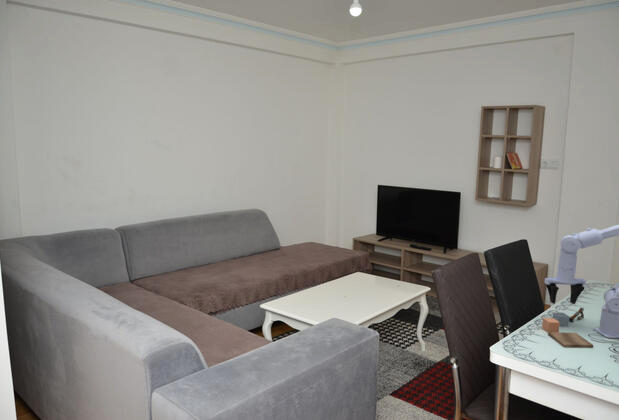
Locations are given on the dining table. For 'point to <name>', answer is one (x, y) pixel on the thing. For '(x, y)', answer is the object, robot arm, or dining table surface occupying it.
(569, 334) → the walnut base plate
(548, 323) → the terracotta cube
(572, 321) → the wooden post with brackets
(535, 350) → the dining table surface
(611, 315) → the robot arm
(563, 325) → the slate cube
